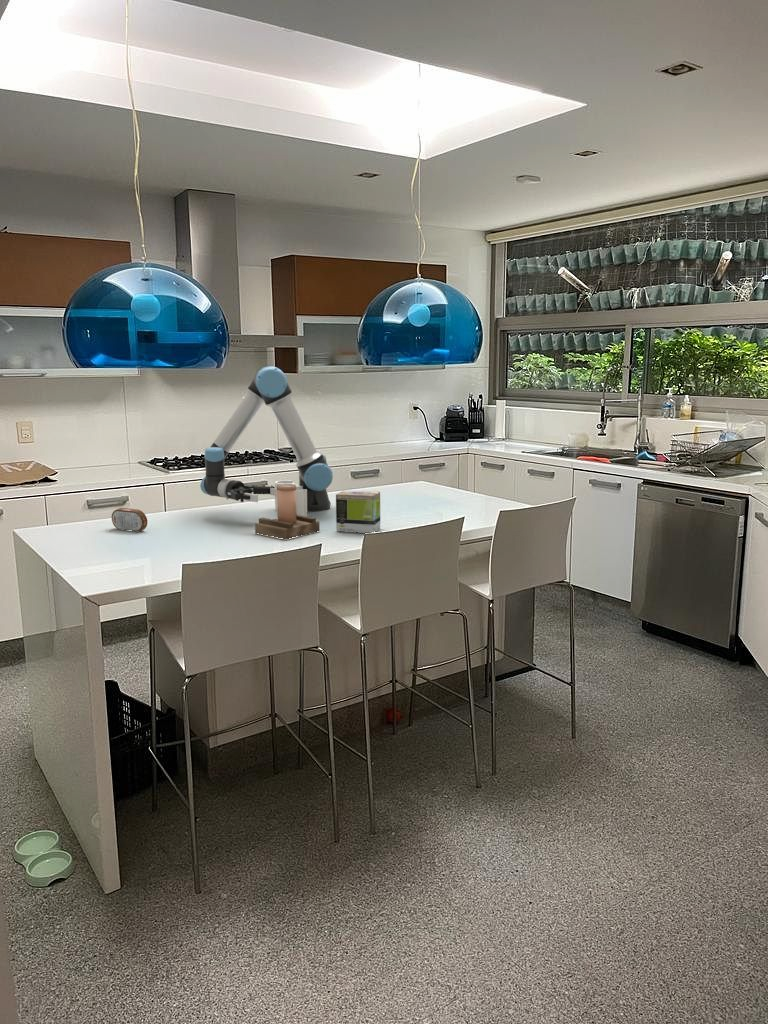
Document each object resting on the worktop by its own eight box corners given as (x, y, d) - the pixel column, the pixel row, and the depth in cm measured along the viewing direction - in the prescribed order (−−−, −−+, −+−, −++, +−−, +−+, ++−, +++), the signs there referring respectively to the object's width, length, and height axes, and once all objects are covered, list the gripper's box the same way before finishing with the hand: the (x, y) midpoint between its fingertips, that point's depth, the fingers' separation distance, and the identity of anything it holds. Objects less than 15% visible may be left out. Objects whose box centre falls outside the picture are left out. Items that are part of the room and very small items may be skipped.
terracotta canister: (287, 519, 305) (286, 483, 302) (300, 521, 300) (300, 485, 297) (273, 522, 299) (272, 485, 296) (287, 525, 295) (286, 488, 292)
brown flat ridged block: (289, 525, 312) (288, 511, 311) (319, 531, 303) (319, 517, 302) (255, 533, 298) (254, 519, 297) (285, 540, 289) (285, 525, 288)
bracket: (271, 508, 344) (271, 481, 342) (293, 507, 348) (293, 479, 345) (284, 520, 321) (284, 491, 319) (308, 519, 325) (307, 489, 322)
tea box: (380, 528, 308) (381, 491, 305) (373, 534, 299) (373, 495, 296) (343, 526, 312) (343, 488, 309) (335, 531, 303) (335, 493, 299)
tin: (148, 531, 302) (147, 509, 300) (143, 533, 299) (141, 511, 297) (116, 528, 307) (115, 506, 305) (110, 529, 304) (109, 508, 302)
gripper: (255, 494, 326) (293, 500, 314) (207, 503, 307) (246, 510, 294) (254, 476, 325) (292, 481, 312) (207, 484, 305) (245, 490, 293)
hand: (270, 495), depth 303 cm, fingers open, 13 cm apart
